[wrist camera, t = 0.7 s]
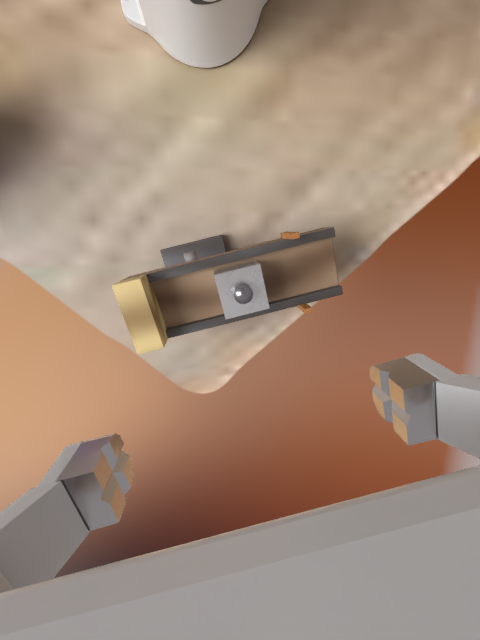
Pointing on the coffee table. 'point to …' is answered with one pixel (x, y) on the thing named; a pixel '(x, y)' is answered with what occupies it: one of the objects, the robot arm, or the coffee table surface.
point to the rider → (241, 289)
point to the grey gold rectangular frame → (201, 290)
